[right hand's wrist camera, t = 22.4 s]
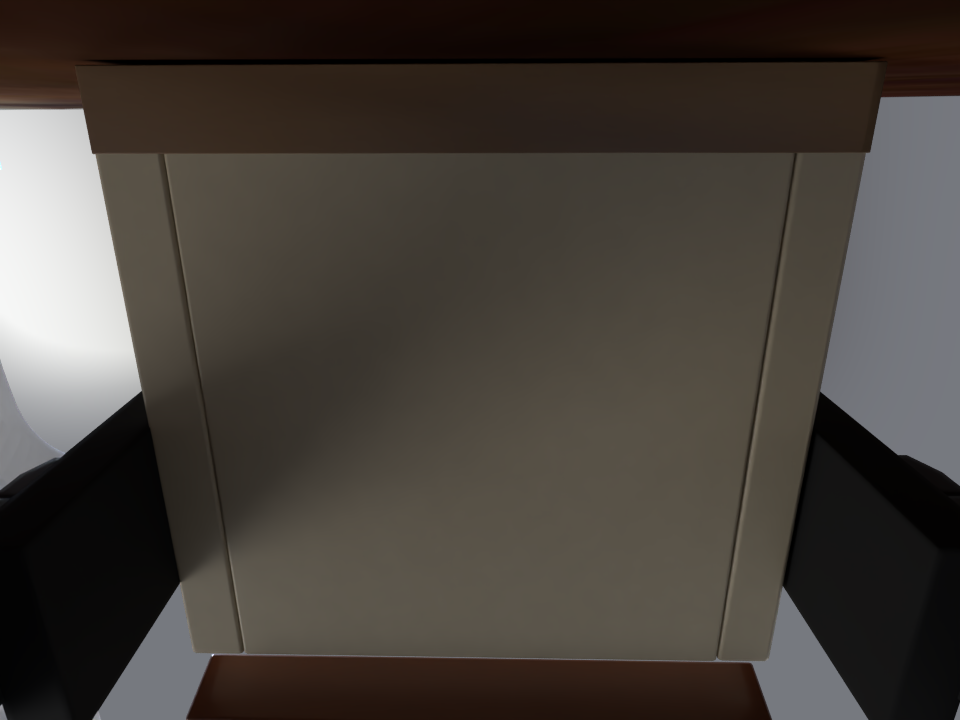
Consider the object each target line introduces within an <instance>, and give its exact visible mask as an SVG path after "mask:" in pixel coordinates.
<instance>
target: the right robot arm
mask: <svg viewBox="0 0 960 720" xmlns="http://www.w3.org/2000/svg"><path fill="white" fill-rule="evenodd" d="M179 584H180V579H179V574H178V569H177V564H176V559H175V553H174V548H173V543H172V538H171V533H170V528H169V523H168V517H167V512H166V507H165V502H164V497H163V492H162V486H161V481H160V476H159V471H158V466H157V461H156V455H155V450H154V445H153V440H152V435H151V430H150V427H149V424H148V418H147V413H146V408H145V403H144V398H143V393H142V391H141V392H140V393H139V394H138V395H136V396H135V397H134V398H133V399H131V400H130V401H129V402H128V403H126V404H125V405H124V406H123V407H122V408H120V409H119V410H118V411H117V412H115V413H114V414H113V415H112V416H111V417H109V418H108V419H107V420H106V421H105V422H103V423H102V424H101V425H100V426H98V427H97V428H96V429H95V430H94V431H92V432H91V433H90V434H89V435H87V436H86V437H85V438H84V439H83V440H81V441H80V442H79V443H78V444H76V445H75V446H74V447H73V448H72V449H70V450H69V451H68V452H67V453H65V454H64V455H63V456H62V457H55V458H53V459H51V460H49V461H47V462H45V463H43V464H41V465H39V466H37V467H34V468H32V469H30V470H28V471H26V472H24V473H22V474H20V475H19V476H18V477H16V478H15V479H14V480H12V481H11V482H10V483H9V484H7V485H6V486H5V487H3V488H2V489H1V490H0V706H1V705H2V706H3V709H4V712H5V715H6V718H7V720H93V718H94V716H95V715H96V713H97V712H98V710H99V709H100V707H101V706H102V704H103V702H104V701H105V699H106V698H107V696H108V695H109V693H110V691H111V690H112V688H113V687H114V685H115V684H116V682H117V680H118V679H119V677H120V676H121V674H122V673H123V671H124V670H125V668H126V666H127V665H128V663H129V662H130V660H131V659H132V657H133V655H134V654H135V652H136V651H137V649H138V648H139V646H140V644H141V643H142V641H143V640H144V638H145V637H146V635H147V634H148V632H149V630H150V629H151V627H152V626H153V624H154V623H155V621H156V619H157V618H158V616H159V615H160V613H161V612H162V610H163V609H164V607H165V605H166V604H167V602H168V601H169V599H170V598H171V596H172V595H173V593H174V591H175V590H176V588H177V587H178V585H179ZM783 587H784V588H785V590H786V591H787V593H788V594H789V596H790V598H791V599H792V601H793V602H794V604H795V605H796V607H797V609H798V610H799V612H800V613H801V615H802V616H803V618H804V619H805V621H806V623H807V624H808V626H809V627H810V629H811V630H812V632H813V634H814V635H815V637H816V638H817V640H818V641H819V643H820V645H821V646H822V648H823V649H824V651H825V652H826V654H827V655H828V657H829V659H830V660H831V662H832V663H833V665H834V666H835V668H836V670H837V671H838V673H839V674H840V676H841V677H842V679H843V680H844V682H845V684H846V685H847V687H848V688H849V690H850V691H851V693H852V695H853V696H854V698H855V699H856V701H857V702H858V704H859V705H860V707H861V709H862V710H863V712H864V713H865V715H866V716H867V718H868V720H954V718H955V715H956V712H957V709H958V706H959V703H960V486H959V485H958V484H956V483H955V482H954V481H952V480H951V479H950V478H949V477H947V476H946V475H945V474H944V473H942V472H940V471H938V470H936V469H934V468H932V467H930V466H928V465H926V464H924V463H922V462H920V461H918V460H915V459H914V458H911V457H909V456H907V455H897V454H896V453H894V452H893V451H892V450H891V449H890V448H888V447H887V446H886V445H885V444H883V443H882V442H881V441H880V440H878V439H877V438H876V437H875V436H874V435H872V434H871V433H870V432H869V431H868V430H866V429H865V428H864V427H863V426H861V425H860V424H859V423H858V422H857V421H855V420H854V419H853V418H852V417H850V416H849V415H848V414H847V413H846V412H844V411H843V410H842V409H841V408H840V407H838V406H837V405H836V404H835V403H833V402H832V401H831V400H830V399H829V398H827V397H826V396H825V395H824V394H822V393H821V392H820V394H819V399H818V404H817V410H816V415H815V420H814V425H813V431H812V436H811V441H810V446H809V451H808V457H807V462H806V467H805V472H804V477H803V483H802V488H801V493H800V498H799V503H798V509H797V514H796V519H795V524H794V530H793V535H792V540H791V545H790V550H789V556H788V561H787V566H786V571H785V576H784V582H783Z"/></svg>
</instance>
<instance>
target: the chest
mask: <svg viewBox="0 0 960 720" xmlns="http://www.w3.org/2000/svg"><path fill="white" fill-rule="evenodd" d="M886 68H887V61H841V62H626V63H411V64H196V65H75V69H76V74H77V79H78V84H79V89H80V94H81V99H82V104H83V109H84V114H85V119H86V124H87V129H88V135H89V140H90V145H91V150H92V153H93V154H96V159H97V164H98V169H99V174H100V179H101V184H102V189H103V194H104V199H105V204H106V210H107V215H108V220H109V225H110V230H111V235H112V240H113V245H114V250H115V256H116V261H117V266H118V271H119V276H120V281H121V286H122V291H123V296H124V301H125V306H126V311H127V317H128V322H129V327H130V332H131V337H132V342H133V347H134V352H135V357H136V362H137V368H138V372H139V378H140V383H141V388H142V393H143V398H144V403H145V408H146V413H147V418H148V424H149V427H150V430H151V435H152V440H153V445H154V450H155V455H156V461H157V466H158V471H159V476H160V481H161V486H162V492H163V497H164V502H165V507H166V512H167V517H168V523H169V528H170V533H171V538H172V543H173V548H174V553H175V559H176V564H177V569H178V574H179V579H180V586H181V591H182V597H183V602H184V607H185V612H186V617H187V622H188V627H189V632H190V637H191V642H192V647H193V651H194V652H196V653H242V652H243V651H245V653H247V654H304V655H368V656H432V657H496V658H560V659H561V658H562V659H624V660H689V661H714V660H715V659H716V656H717V658H718V659H720V660H729V661H766V660H768V658H769V655H770V649H771V644H772V639H773V633H774V628H775V623H776V618H777V613H778V608H779V602H780V597H781V592H782V587H783V582H784V576H785V571H786V566H787V561H788V556H789V550H790V545H791V540H792V535H793V530H794V524H795V519H796V514H797V509H798V503H799V498H800V493H801V488H802V483H803V477H804V472H805V467H806V462H807V457H808V451H809V446H810V441H811V436H812V431H813V425H814V420H815V415H816V410H817V404H818V399H819V394H820V389H821V383H822V378H823V373H824V368H825V363H826V358H827V352H828V347H829V342H830V337H831V331H832V326H833V321H834V316H835V311H836V306H837V300H838V295H839V290H840V285H841V279H842V274H843V269H844V264H845V259H846V253H847V248H848V243H849V238H850V232H851V227H852V222H853V217H854V212H855V206H856V201H857V196H858V191H859V185H860V181H861V175H862V170H863V165H864V160H865V154H866V153H869V152H870V150H871V145H872V140H873V135H874V129H875V124H876V119H877V114H878V109H879V104H880V98H881V93H882V88H883V83H884V78H885V73H886Z"/></svg>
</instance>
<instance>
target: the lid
mask: <svg viewBox="0 0 960 720" xmlns="http://www.w3.org/2000/svg"><path fill="white" fill-rule="evenodd" d="M186 720H772V718H771V715H770V713H769V710H768V707H767V704H766V701H765V699H764V696H763V693H762V690H761V687H760V685H759V682H758V679H757V676H756V673H755V671H754V668H753V665H752V664H751V663H743V662H680V661H679V662H678V661H616V660H615V661H614V660H551V659H487V658H424V657H359V656H295V655H232V654H213V655H212V656H211V658H210V660H209V663H208V665H207V667H206V670H205V672H204V675H203V677H202V680H201V682H200V685H199V687H198V690H197V692H196V695H195V697H194V699H193V702H192V704H191V707H190V709H189V712H188V714H187V717H186Z"/></svg>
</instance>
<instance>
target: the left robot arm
mask: <svg viewBox="0 0 960 720" xmlns="http://www.w3.org/2000/svg"><path fill="white" fill-rule="evenodd" d="M1 169H2V168H1V164H0V170H1ZM64 454H65V453H64V452H62V451H60V450H58V449H56V448H54V447H53V446H51V445H50V444H48V443H47V442H45V441H44V440H43V439H42V438H41V437H40V436H38V435H37V434H36V433H35V432H34V430H33V429H32V428H31V427H30V426H29V425H28V423H27V422H26V421H25V419H24V418H23V416H22V414H21V413H20V411H19V409H18V407H17V404H16V402H15V399H14V397H13V394H12V392H11V389H10V387H9V384H8V381H7V379H6V376H5V373H4V370H3V367H2V364H1V361H0V490H1V489H2V488H3V487H5V486H6V485H7V484H9V483H10V482H11V481H12V480H14V479H15V478H16V477H18V476H19V475H20V474H22V473H24V472H26V471H28V470H30V469H32V468H34V467H37V466H39V465H41V464H43V463H45V462H47V461H49V460H51V459H53V458H55V457H62V456H63V455H64ZM0 720H7V718H6V715H5V712H4V709H3V706H2V705H1V706H0ZM93 720H101V718H100V714H99V711H98V712H97V713H96V715H95V716H94V718H93Z"/></svg>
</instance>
